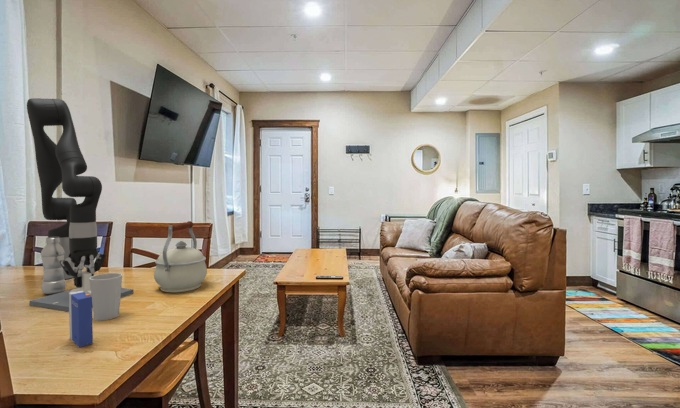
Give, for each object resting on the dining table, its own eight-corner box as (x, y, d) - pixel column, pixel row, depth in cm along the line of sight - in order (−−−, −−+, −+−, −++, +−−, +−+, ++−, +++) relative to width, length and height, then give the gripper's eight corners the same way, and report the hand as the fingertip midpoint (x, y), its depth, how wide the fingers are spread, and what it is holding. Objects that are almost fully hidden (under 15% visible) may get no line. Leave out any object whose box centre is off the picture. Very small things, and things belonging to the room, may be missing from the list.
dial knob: (66, 294, 113) (65, 272, 112) (94, 289, 119) (93, 268, 119) (78, 302, 106) (77, 279, 105) (107, 296, 112) (107, 274, 112)
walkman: (93, 343, 82) (92, 295, 81) (79, 347, 80) (78, 298, 79) (82, 334, 87) (82, 288, 86) (69, 338, 85) (68, 291, 84)
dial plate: (29, 305, 107) (29, 300, 107) (91, 287, 126) (91, 283, 126) (75, 312, 101) (75, 307, 101) (133, 293, 120) (133, 288, 120)
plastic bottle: (52, 296, 115) (50, 239, 114) (36, 295, 117) (35, 238, 116) (70, 291, 122) (69, 236, 121) (55, 290, 123) (54, 235, 122)
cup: (87, 323, 94) (86, 281, 93) (92, 313, 101) (92, 274, 100) (121, 318, 97) (120, 278, 97) (124, 309, 104) (123, 271, 104)
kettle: (190, 297, 117) (189, 226, 116) (139, 295, 118) (139, 225, 117) (219, 278, 142) (219, 219, 141) (178, 276, 143) (177, 219, 142)
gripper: (97, 232, 121) (98, 279, 121) (52, 237, 108) (53, 290, 108) (111, 233, 118) (112, 282, 119) (66, 238, 105) (67, 293, 106)
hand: (84, 285), depth 114 cm, fingers closed on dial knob, 2 cm apart
